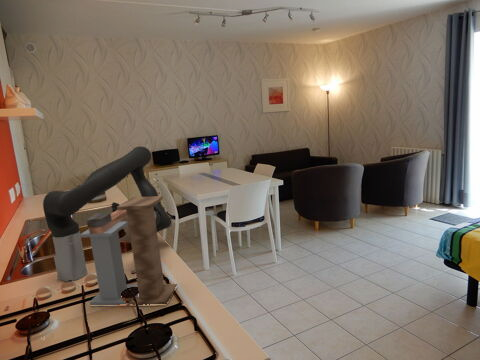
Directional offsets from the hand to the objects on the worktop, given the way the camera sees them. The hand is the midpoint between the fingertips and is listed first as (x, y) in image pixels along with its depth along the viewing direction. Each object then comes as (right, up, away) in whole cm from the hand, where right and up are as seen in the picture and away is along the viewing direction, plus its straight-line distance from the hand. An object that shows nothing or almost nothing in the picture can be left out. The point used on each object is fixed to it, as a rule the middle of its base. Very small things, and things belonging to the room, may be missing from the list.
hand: (124, 204), depth 123 cm
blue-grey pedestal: (0, -30, -9) cm, 31 cm away
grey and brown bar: (-1, -5, -10) cm, 11 cm away
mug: (-67, -8, +132) cm, 148 cm away
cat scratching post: (+13, -29, -11) cm, 34 cm away
